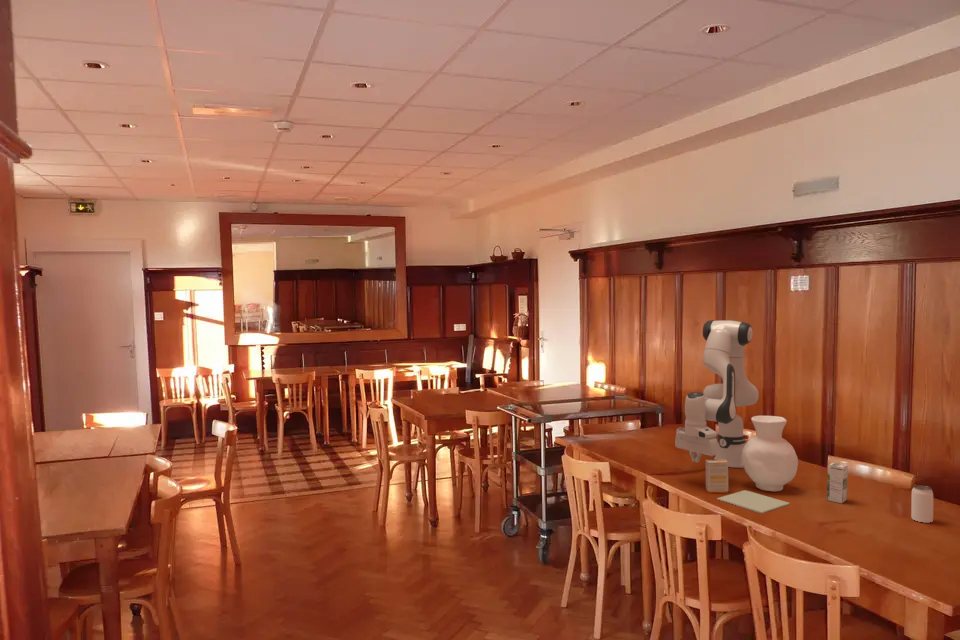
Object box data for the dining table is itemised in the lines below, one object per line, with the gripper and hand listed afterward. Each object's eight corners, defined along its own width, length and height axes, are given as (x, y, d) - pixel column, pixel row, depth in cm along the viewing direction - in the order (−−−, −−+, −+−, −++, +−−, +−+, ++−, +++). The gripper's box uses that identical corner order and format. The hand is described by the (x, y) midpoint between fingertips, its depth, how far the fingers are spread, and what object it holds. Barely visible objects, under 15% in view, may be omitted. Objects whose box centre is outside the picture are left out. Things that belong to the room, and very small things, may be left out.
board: (745, 491, 270) (745, 490, 270) (789, 504, 253) (789, 502, 253) (716, 499, 261) (716, 498, 261) (761, 513, 244) (761, 512, 244)
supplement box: (725, 489, 273) (725, 458, 273) (728, 493, 268) (728, 462, 268) (705, 489, 274) (705, 458, 273) (708, 493, 269) (708, 461, 269)
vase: (738, 480, 285) (738, 413, 284) (790, 482, 281) (790, 414, 279) (746, 493, 267) (746, 421, 266) (802, 496, 263) (802, 423, 261)
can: (933, 524, 229) (933, 491, 228) (911, 521, 232) (911, 488, 232) (932, 519, 235) (932, 486, 234) (910, 516, 238) (911, 483, 237)
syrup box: (831, 497, 261) (831, 461, 260) (847, 500, 256) (847, 464, 256) (826, 500, 257) (826, 464, 256) (843, 504, 252) (843, 467, 252)
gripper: (671, 427, 286) (671, 457, 287) (710, 435, 269) (710, 468, 270) (681, 425, 290) (681, 455, 290) (720, 433, 272) (720, 465, 273)
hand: (695, 461), depth 280 cm, fingers closed
